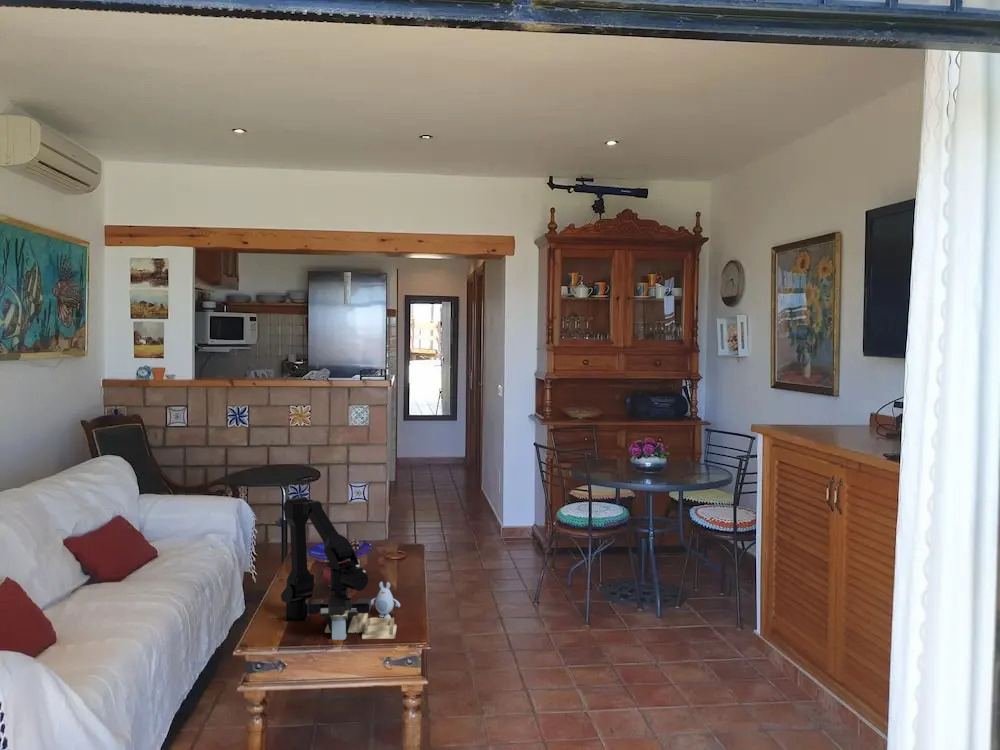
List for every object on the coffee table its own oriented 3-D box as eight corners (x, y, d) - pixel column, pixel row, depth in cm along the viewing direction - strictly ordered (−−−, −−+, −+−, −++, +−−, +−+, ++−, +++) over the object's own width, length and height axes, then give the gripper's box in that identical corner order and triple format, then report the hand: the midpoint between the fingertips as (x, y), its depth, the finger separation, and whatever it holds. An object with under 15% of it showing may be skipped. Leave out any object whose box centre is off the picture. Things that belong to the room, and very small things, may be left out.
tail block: (331, 640, 230) (332, 620, 230) (333, 635, 234) (333, 616, 234) (345, 640, 231) (345, 620, 231) (346, 635, 235) (346, 616, 235)
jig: (322, 639, 231) (322, 626, 231) (332, 615, 252) (332, 603, 252) (394, 638, 232) (394, 625, 232) (398, 614, 253) (398, 602, 253)
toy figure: (366, 620, 248) (366, 583, 247) (372, 613, 254) (372, 578, 253) (397, 622, 246) (397, 585, 246) (402, 615, 252) (403, 580, 252)
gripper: (304, 592, 223) (303, 644, 224) (367, 591, 225) (367, 643, 225) (310, 580, 234) (310, 630, 235) (371, 580, 236) (371, 629, 236)
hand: (339, 633), depth 233 cm, fingers closed on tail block, 4 cm apart
